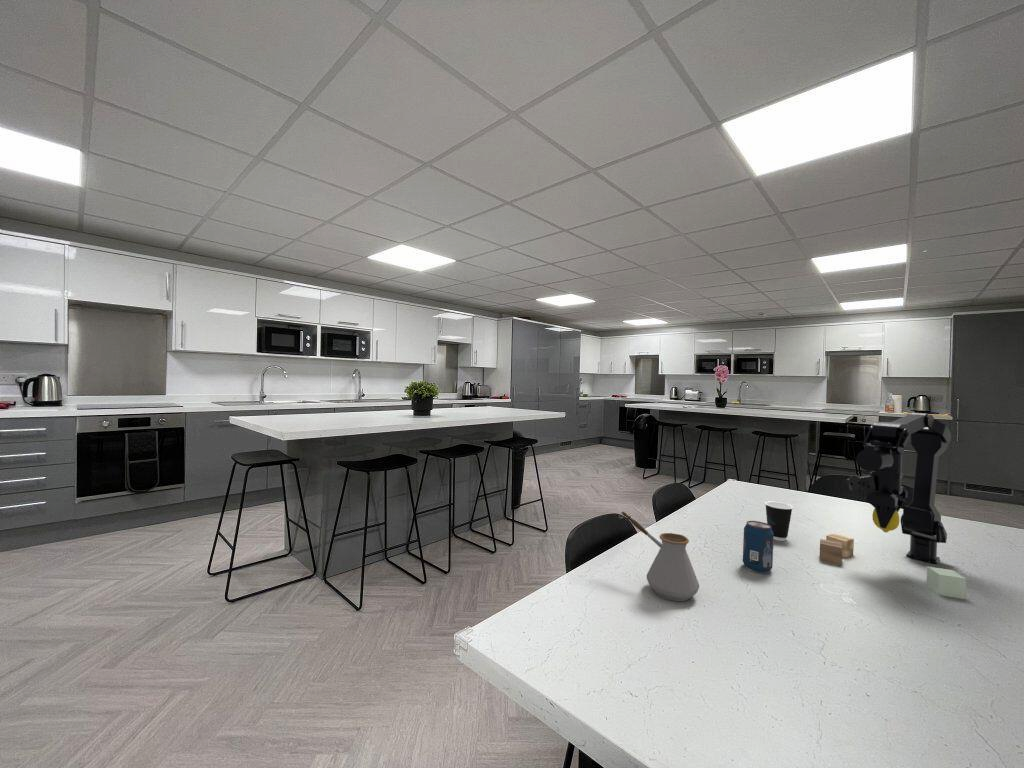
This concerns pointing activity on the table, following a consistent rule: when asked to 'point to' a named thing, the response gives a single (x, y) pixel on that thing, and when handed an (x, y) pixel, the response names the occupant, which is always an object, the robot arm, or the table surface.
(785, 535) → the dixie cup
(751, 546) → the soda can
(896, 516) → the lemon
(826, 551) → the walnut block
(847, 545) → the oak block
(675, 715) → the table surface
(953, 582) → the sage block
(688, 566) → the coffee pot
